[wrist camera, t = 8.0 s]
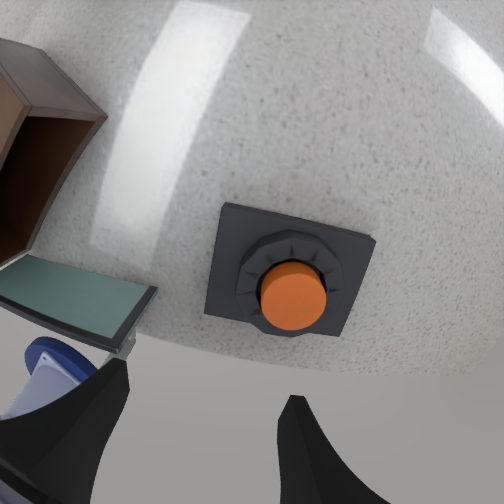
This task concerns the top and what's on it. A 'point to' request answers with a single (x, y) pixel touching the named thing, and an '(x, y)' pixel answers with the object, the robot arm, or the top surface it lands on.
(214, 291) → the switch block
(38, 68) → the cabinet
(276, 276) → the light button
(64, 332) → the glass door
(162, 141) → the top surface
